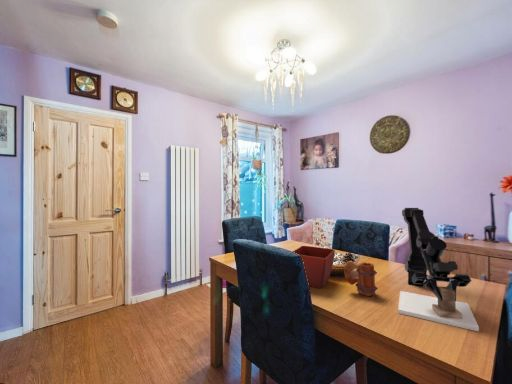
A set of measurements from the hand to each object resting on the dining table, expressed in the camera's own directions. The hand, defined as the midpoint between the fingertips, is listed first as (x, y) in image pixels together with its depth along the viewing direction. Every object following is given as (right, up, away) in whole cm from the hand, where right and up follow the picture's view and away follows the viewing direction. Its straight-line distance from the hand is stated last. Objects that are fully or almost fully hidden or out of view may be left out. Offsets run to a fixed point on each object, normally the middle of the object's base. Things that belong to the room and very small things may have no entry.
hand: (448, 301), depth 91 cm
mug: (-23, -7, +24) cm, 34 cm away
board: (0, -7, +7) cm, 10 cm away
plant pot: (-42, -8, +39) cm, 57 cm away
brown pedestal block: (0, -6, +1) cm, 6 cm away
